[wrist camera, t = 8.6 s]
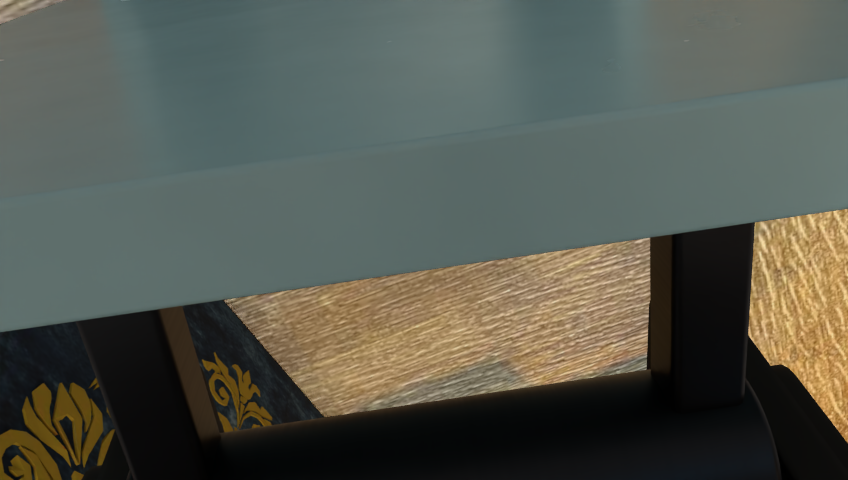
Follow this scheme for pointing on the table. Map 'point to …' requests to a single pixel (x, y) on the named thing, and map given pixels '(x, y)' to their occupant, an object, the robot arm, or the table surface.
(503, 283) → the table surface
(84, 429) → the book
